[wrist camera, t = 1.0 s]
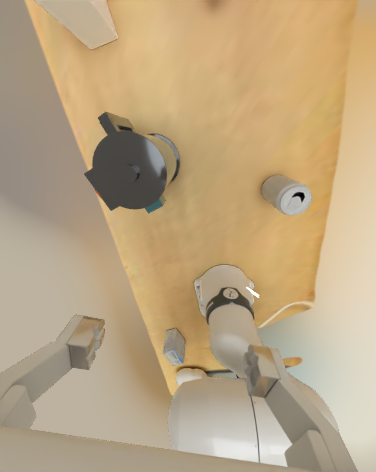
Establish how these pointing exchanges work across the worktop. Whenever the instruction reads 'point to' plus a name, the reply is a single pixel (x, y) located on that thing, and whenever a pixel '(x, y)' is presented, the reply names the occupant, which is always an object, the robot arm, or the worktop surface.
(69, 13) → the milk
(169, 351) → the medicine box
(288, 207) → the beverage can
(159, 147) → the jug
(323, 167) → the worktop surface
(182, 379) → the cat figurine
